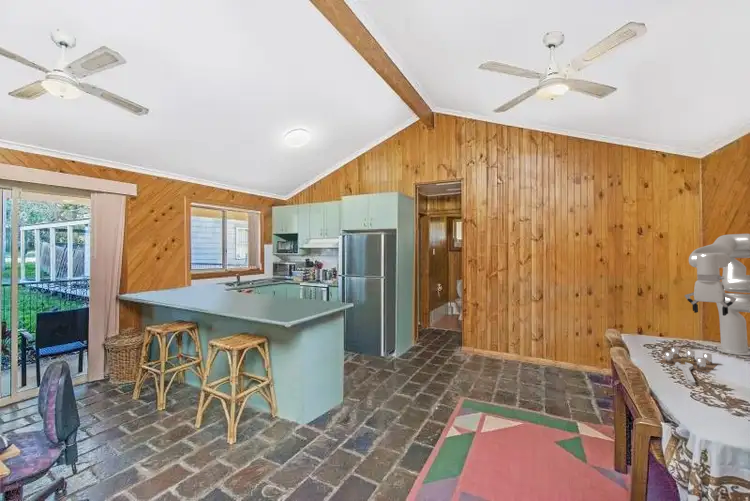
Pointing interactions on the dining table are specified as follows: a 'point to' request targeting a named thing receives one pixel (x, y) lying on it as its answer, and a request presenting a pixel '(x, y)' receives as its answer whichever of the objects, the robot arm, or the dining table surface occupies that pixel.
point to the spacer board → (708, 367)
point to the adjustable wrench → (686, 372)
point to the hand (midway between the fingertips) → (710, 313)
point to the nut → (687, 360)
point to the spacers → (690, 354)
